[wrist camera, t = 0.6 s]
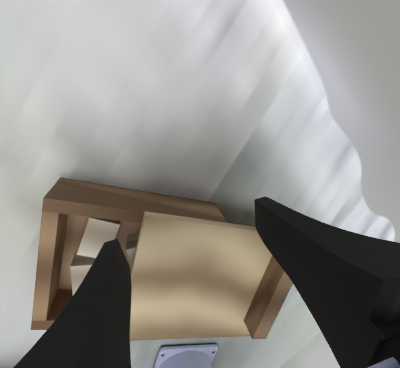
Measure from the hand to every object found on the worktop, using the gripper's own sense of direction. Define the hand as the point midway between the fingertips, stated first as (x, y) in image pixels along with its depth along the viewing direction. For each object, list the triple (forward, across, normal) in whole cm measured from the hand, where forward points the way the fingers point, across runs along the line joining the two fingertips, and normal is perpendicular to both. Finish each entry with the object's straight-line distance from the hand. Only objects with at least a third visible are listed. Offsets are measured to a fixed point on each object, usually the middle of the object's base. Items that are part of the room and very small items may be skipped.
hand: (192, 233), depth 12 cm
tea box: (+10, +5, +8) cm, 13 cm away
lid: (+5, -1, +11) cm, 12 cm away
